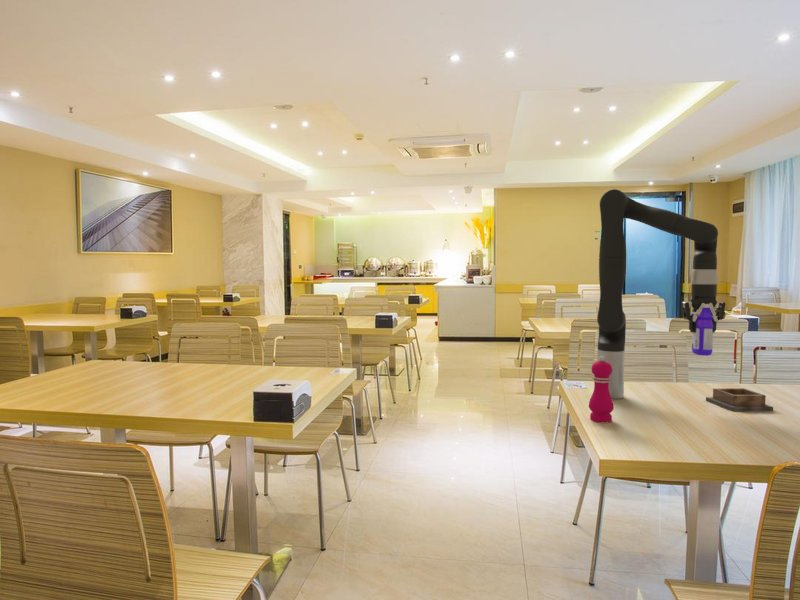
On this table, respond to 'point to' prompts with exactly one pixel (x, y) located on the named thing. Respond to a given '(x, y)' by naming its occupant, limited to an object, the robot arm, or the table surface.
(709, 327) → the bottle
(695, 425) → the table surface
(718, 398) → the open box
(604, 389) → the pepper mill
